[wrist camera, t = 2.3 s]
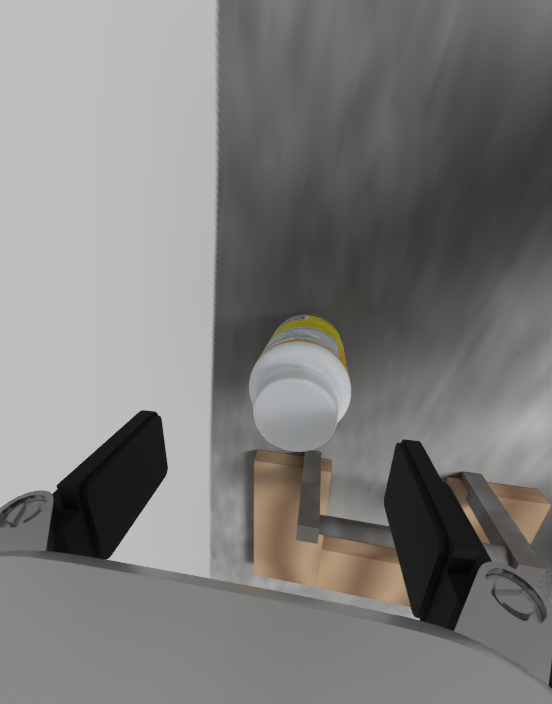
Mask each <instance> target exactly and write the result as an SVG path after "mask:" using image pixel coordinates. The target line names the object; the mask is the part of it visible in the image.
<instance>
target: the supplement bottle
mask: <svg viewBox="0 0 552 704" xmlns="http://www.w3.org/2000/svg"><path fill="white" fill-rule="evenodd" d="M249 394H250V398H251V402H252V404H253V418H254V422H255V425H256V427H257V429H258V430H259V432H260V433H261V435H262V436H263V437H264V438H265V439H266V440H267V441H269V442H270V443H271V444H273V445H275V446H277V447H279V448H281V449H284V450H288V451H293V452H304V451H310V450H313V449H316V448H318V447H320V446H322V445H323V444H325V443H326V442H327V441H328V440H329V439H330V438H331V437H332V435H333V434H334V431H335V429H336V426H337V423H338V422H339V421H340V420H341V419H342V417H343V416H344V414H345V413H346V411H347V409H348V406H349V403H350V399H351V383H350V378H349V372H348V368H347V363H346V358H345V353H344V348H343V343H342V339H341V336H340V334H339V332H338V330H337V329H336V327H335V326H334V325H333V324H332V323H331V322H330V321H328V320H327V319H325V318H323V317H321V316H319V315H315V314H298V315H295V316H292V317H290V318H288V319H286V320H285V321H284V322H283V323H281V325H280V326H279V327H278V328H277V329H276V331H275V333H274V334H273V336H272V337H271V339H270V341H269V342H268V344H267V345H266V347H265V349H264V350H263V352H262V354H261V355H260V357H259V359H258V360H257V362H256V364H255V366H254V368H253V370H252V373H251V376H250V381H249Z"/></svg>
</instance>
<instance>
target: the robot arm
mask: <svg viewBox="0 0 552 704" xmlns="http://www.w3.org/2000/svg"><path fill="white" fill-rule="evenodd" d="M167 470H168V466H167V458H166V451H165V443H164V435H163V427H162V420H161V417H160V416H158V414H157V413H156V412H153V411H144V410H143V411H140V412H139V413H138V414H136V415H135V416H134V417H133V418H132V419H131V420H130V421H129V422H127V423H126V424H125V425H124V426H123V427H122V428H121V429H120V430H119V431H117V432H116V433H115V434H114V435H113V436H112V437H111V438H109V439H108V440H107V441H106V442H105V443H104V444H103V445H102V446H101V447H99V448H98V449H97V450H96V451H95V452H94V453H93V454H92V455H90V456H89V457H88V458H87V459H86V460H85V461H84V462H82V463H81V464H80V465H79V466H78V467H77V468H76V469H75V470H74V471H72V472H71V473H70V474H69V475H68V476H67V477H66V478H64V479H63V480H62V481H61V482H60V483H59V484H58V485H57V488H58V489H57V490H56V491H55V492H54V493H53V494H51V493H50V492H48V491H34V492H29V493H26V494H24V495H21V496H19V497H17V498H15V499H13V500H11V501H9V502H8V503H7V504H5V505H4V506H2V507H1V508H0V704H552V605H551V603H550V601H549V600H548V599H547V597H546V596H545V594H544V593H543V592H542V590H541V589H540V588H539V587H538V586H537V585H536V584H535V583H534V582H533V581H531V580H530V579H529V578H528V577H526V576H525V575H524V574H522V573H521V572H519V571H517V570H516V569H514V568H512V567H510V566H508V565H505V564H502V563H499V562H492V560H491V558H490V556H489V555H488V553H487V551H486V549H485V547H484V546H483V544H482V542H481V540H480V539H479V537H478V535H477V533H476V532H475V530H474V528H473V526H472V525H471V523H470V521H469V519H468V517H467V516H466V514H465V512H464V510H463V509H462V507H461V505H460V503H459V502H458V500H457V498H456V496H455V494H454V493H453V491H452V489H451V488H450V486H449V485H448V484H447V483H445V482H442V480H441V479H440V477H439V475H438V473H437V471H436V469H435V468H434V466H433V464H432V462H431V460H430V458H429V457H428V455H427V453H426V451H425V449H424V447H423V446H422V444H421V442H419V441H412V440H402V442H401V443H397V444H396V447H395V451H394V456H393V461H392V465H391V470H390V474H389V479H388V483H387V488H386V492H385V497H384V506H385V511H386V514H387V518H388V522H389V526H390V530H391V533H392V537H393V541H394V545H395V549H396V552H397V556H398V560H399V564H400V568H401V571H402V575H403V579H404V583H405V587H406V591H407V594H408V598H409V602H410V606H411V609H412V613H413V615H414V616H415V617H417V618H420V621H418V620H415V619H411V618H407V617H402V616H398V615H393V614H388V613H384V612H379V611H374V610H369V609H365V608H360V607H355V606H351V605H345V604H340V603H335V602H330V601H325V600H320V599H314V598H309V597H304V596H299V595H294V594H289V593H283V592H278V591H273V590H268V589H263V588H257V587H252V586H247V585H241V584H236V583H231V582H225V581H220V580H215V579H209V578H203V577H198V576H193V575H188V574H182V573H177V572H171V571H166V570H160V569H155V568H149V567H143V566H137V565H132V564H126V563H121V562H116V561H110V560H105V559H108V558H109V557H110V556H111V555H112V553H113V552H114V551H115V549H116V548H117V546H118V545H119V544H120V542H121V541H122V539H123V538H124V536H125V535H126V533H127V532H128V530H129V528H130V527H131V526H132V525H133V523H134V522H135V520H136V518H137V517H138V516H139V514H140V513H141V511H142V510H143V508H144V507H145V506H146V504H147V503H148V501H149V500H150V498H151V497H152V495H153V494H154V492H155V491H156V489H157V488H158V487H159V485H160V484H161V482H162V481H163V479H164V478H165V476H166V474H167Z"/></svg>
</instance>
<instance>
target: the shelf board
mask: <svg viewBox="0 0 552 704" xmlns="http://www.w3.org/2000/svg"><path fill="white" fill-rule="evenodd" d="M331 474H332V462H331V460H326V459H321V452H316V451H305V454H304V456H298V455H291V454H284V453H277V452H270V451H263V450H257V453H256V456H255V459H254V574H256V575H261V576H266V577H270V578H275V579H280V580H285V581H289V582H294V583H299V584H304V585H309V586H313V587H318V588H323V589H328V590H332V591H337V592H342V593H347V594H351V595H356V596H361V597H366V598H370V599H375V600H380V601H385V602H390V603H394V604H399V605H404V606H409V607H411V606H410V602H409V598H408V594H407V591H406V587H405V583H404V579H403V575H402V571H401V568H400V564H399V560H398V556H397V552H396V549H394V548H395V545H394V541H393V537H392V533H391V530H390V527H389V526H384V525H378V524H372V523H366V522H360V521H354V520H349V519H343V518H337V517H331V516H326V513H327V505H328V497H329V490H330V482H331ZM446 483H447V484H448V485H449V486H450V488H451V489H452V491H453V493H454V494H455V496H456V498H457V500H458V502H459V503H460V505H461V507H462V509H463V510H464V512H465V514H466V516H467V517H468V519H469V521H470V523H471V525H472V526H473V528H474V530H475V532H476V533H477V535H478V537H479V539H480V540H481V542H482V544H483V546H484V547H485V549H486V551H487V553H488V555H489V556H490V558H491V560H492V562H499V563H502V564H505V565H508V566H510V567H512V568H514V569H516V570H517V571H519V572H521V573H522V574H524V575H525V576H526V577H528V578H529V579H530V580H531V581H533V582H534V583H535V584H536V585H538V584H539V582H540V581H541V579H542V577H543V575H544V574H545V572H546V570H547V569H546V567H545V566H544V564H543V563H542V561H541V560H540V558H539V557H538V556H537V554H536V553H535V551H534V550H533V548H532V547H531V543H532V541H533V539H534V537H535V535H536V533H537V532H538V530H539V528H540V526H541V524H542V522H543V520H544V518H545V516H546V514H547V512H548V511H549V509H550V507H551V504H550V503H549V502H548V500H547V499H546V498H545V497H544V496H543V495H542V494H541V492H540V491H539V490H538V489H531V488H524V487H517V486H510V485H503V484H496V483H488V482H487V481H486V480H485V479H484V477H483V476H482V474H475V473H468V472H462V475H461V477H460V478H453V477H447V480H446ZM324 535H325V536H324ZM328 536H331V537H328ZM334 537H336V538H334ZM339 538H342V539H339ZM345 539H347V540H345ZM350 540H353V541H350ZM356 541H358V542H356ZM361 542H364V543H361ZM367 543H369V544H367ZM372 544H375V545H372ZM378 545H380V546H378ZM383 546H386V547H383ZM389 547H391V548H389Z"/></svg>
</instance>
